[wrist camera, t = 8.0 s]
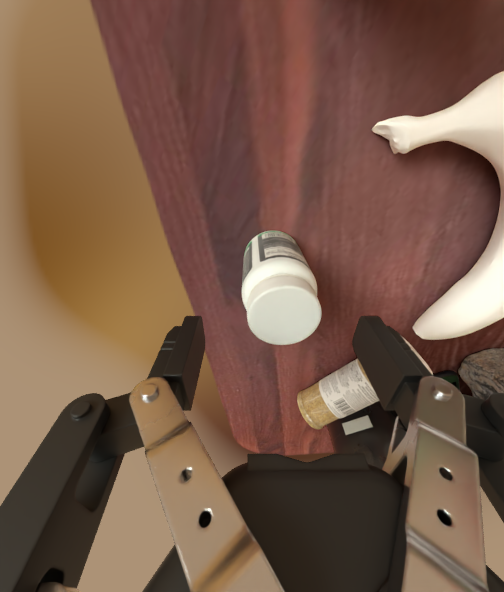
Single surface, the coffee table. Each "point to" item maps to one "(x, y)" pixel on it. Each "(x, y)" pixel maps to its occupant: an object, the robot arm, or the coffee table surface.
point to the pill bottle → (279, 290)
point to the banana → (500, 250)
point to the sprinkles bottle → (339, 394)
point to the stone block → (484, 372)
